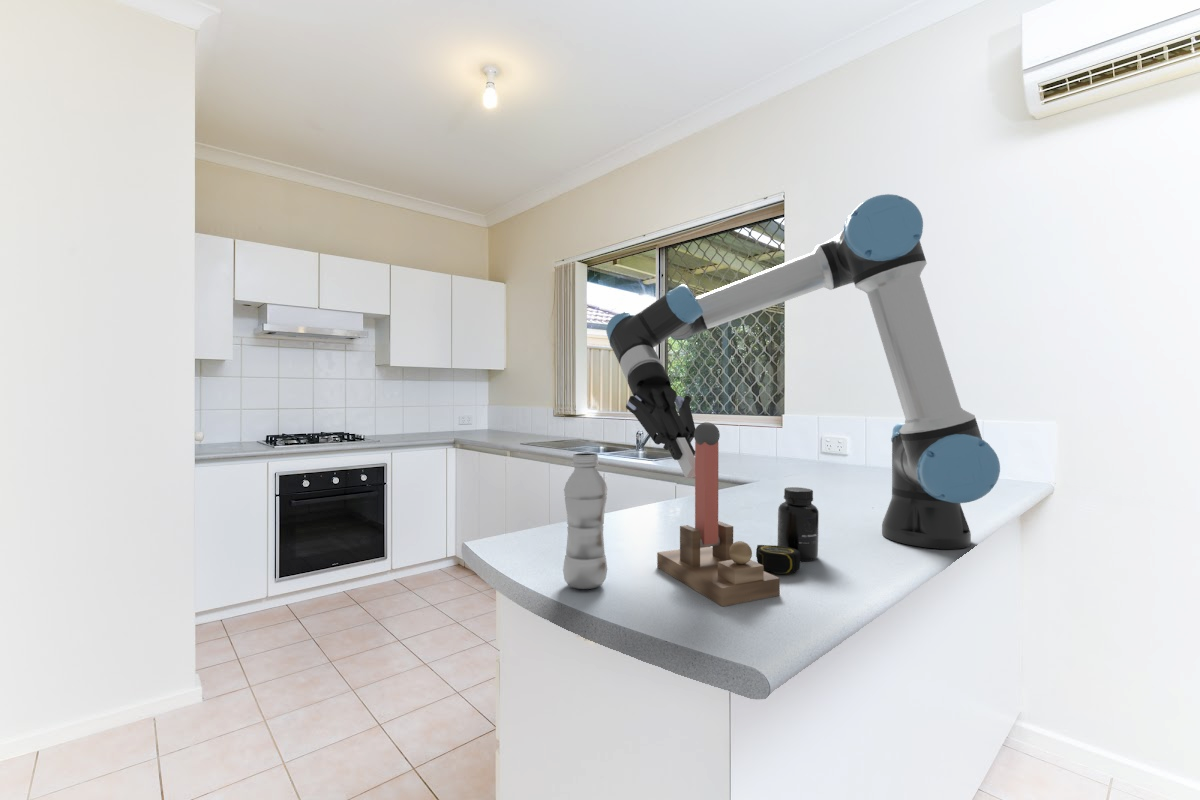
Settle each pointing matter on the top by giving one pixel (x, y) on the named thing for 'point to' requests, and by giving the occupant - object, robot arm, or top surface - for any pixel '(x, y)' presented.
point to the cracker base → (707, 569)
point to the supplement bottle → (799, 522)
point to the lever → (706, 483)
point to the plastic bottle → (585, 524)
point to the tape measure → (778, 558)
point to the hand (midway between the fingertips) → (692, 472)
